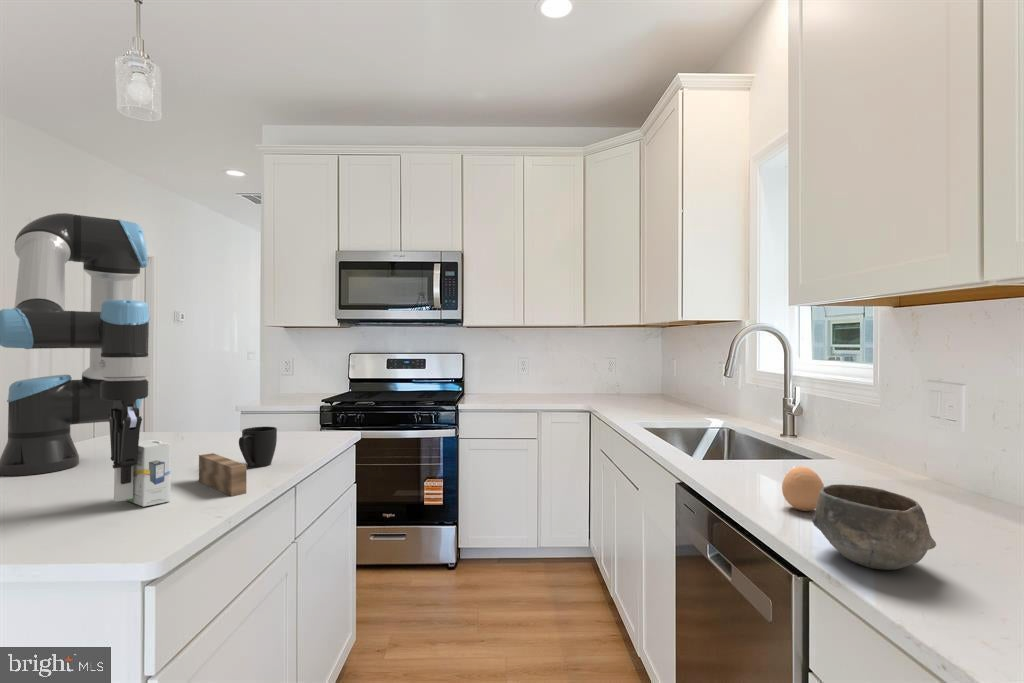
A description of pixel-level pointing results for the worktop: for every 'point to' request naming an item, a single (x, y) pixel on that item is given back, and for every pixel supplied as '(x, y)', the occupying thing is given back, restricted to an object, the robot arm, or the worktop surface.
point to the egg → (802, 488)
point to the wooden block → (222, 474)
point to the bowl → (873, 526)
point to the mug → (258, 445)
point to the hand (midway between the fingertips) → (123, 499)
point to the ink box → (152, 473)
